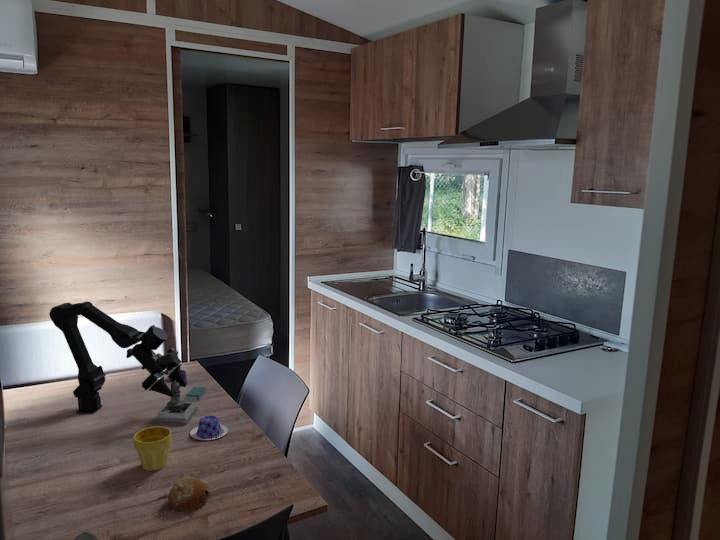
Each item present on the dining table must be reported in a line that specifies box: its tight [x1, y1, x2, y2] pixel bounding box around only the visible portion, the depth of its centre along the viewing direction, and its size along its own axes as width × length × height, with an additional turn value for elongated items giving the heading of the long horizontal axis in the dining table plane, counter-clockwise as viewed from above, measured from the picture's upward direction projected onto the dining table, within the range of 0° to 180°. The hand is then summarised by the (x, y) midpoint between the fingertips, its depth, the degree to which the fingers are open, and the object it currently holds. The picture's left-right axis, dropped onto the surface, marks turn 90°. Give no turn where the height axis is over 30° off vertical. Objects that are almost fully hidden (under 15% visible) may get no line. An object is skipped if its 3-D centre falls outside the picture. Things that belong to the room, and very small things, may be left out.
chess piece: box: [167, 380, 185, 413], centre depth 201 cm, size 6×6×12 cm
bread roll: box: [167, 475, 211, 512], centre depth 151 cm, size 10×10×8 cm
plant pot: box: [132, 425, 173, 472], centre depth 168 cm, size 10×10×10 cm
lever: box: [169, 369, 188, 387], centre depth 235 cm, size 12×6×3 cm, turn 30°
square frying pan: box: [154, 386, 207, 425], centre depth 210 cm, size 11×29×4 cm, turn 176°
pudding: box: [189, 415, 229, 441], centre depth 190 cm, size 12×12×5 cm
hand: (179, 391), depth 200 cm, fingers open, 9 cm apart
